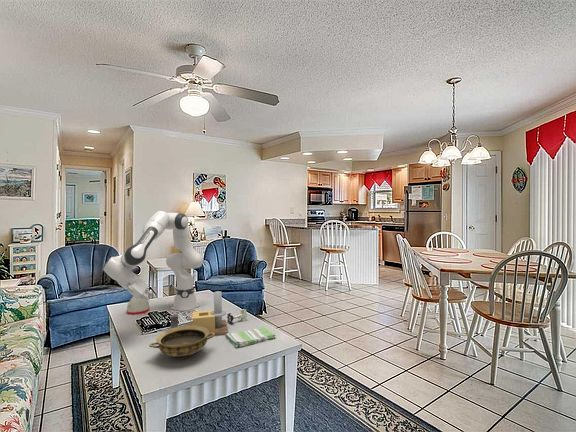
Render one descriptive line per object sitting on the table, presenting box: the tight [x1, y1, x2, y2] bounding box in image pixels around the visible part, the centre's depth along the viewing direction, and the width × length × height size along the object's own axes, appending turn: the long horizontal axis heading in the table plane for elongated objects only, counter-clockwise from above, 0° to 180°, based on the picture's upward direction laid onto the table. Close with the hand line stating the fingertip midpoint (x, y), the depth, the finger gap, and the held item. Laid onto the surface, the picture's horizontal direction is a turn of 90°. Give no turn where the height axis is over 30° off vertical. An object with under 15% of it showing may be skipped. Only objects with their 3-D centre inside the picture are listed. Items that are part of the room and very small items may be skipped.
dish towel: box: [224, 326, 276, 349], centre depth 169 cm, size 17×23×4 cm
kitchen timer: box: [126, 295, 150, 316], centre depth 214 cm, size 14×14×15 cm
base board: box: [185, 319, 229, 338], centre depth 180 cm, size 20×23×2 cm
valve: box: [226, 308, 248, 325], centre depth 193 cm, size 7×7×12 cm
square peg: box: [170, 314, 179, 329], centre depth 175 cm, size 4×4×10 cm
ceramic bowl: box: [148, 325, 215, 359], centre depth 150 cm, size 30×24×10 cm
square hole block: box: [192, 290, 227, 331], centre depth 180 cm, size 12×18×20 cm, turn 106°
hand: (150, 298), depth 171 cm, fingers open, 8 cm apart
